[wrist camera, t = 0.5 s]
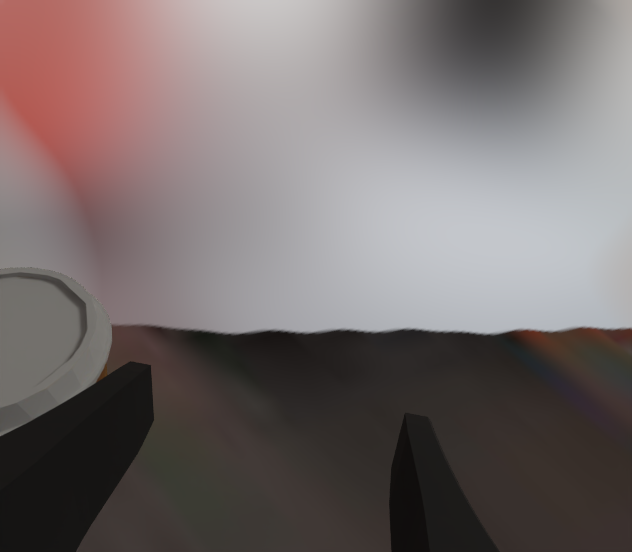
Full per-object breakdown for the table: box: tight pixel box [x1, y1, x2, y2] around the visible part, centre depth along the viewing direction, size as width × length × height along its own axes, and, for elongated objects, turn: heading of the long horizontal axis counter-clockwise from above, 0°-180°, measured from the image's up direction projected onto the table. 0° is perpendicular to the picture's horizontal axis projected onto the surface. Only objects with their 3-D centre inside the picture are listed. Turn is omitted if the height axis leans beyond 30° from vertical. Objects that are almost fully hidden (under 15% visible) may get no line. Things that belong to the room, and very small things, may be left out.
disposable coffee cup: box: [0, 267, 112, 436], centre depth 26 cm, size 10×10×12 cm
